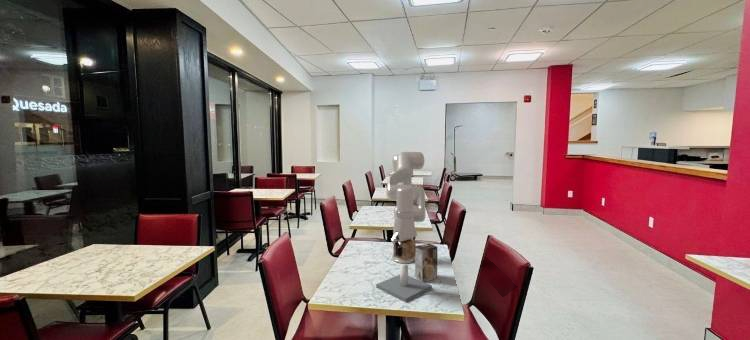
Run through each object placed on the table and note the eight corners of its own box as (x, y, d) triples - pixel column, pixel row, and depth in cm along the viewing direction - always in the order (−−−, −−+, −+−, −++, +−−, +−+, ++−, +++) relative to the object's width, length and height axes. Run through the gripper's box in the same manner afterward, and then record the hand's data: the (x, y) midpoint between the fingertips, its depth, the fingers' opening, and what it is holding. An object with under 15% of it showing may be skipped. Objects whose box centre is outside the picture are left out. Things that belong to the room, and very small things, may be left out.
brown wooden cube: (403, 252, 145) (404, 237, 144) (415, 256, 140) (415, 241, 139) (393, 256, 140) (393, 240, 140) (404, 260, 135) (405, 244, 134)
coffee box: (429, 273, 157) (430, 242, 156) (437, 278, 151) (438, 246, 150) (414, 277, 153) (414, 245, 152) (422, 282, 147) (422, 249, 146)
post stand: (402, 276, 154) (402, 255, 153) (432, 288, 141) (432, 266, 140) (376, 287, 142) (376, 265, 141) (405, 302, 129) (405, 277, 128)
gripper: (411, 211, 147) (410, 247, 148) (385, 216, 136) (384, 256, 137) (423, 213, 142) (423, 251, 143) (397, 219, 130) (397, 260, 131)
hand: (404, 253), depth 140 cm, fingers closed on brown wooden cube, 7 cm apart
